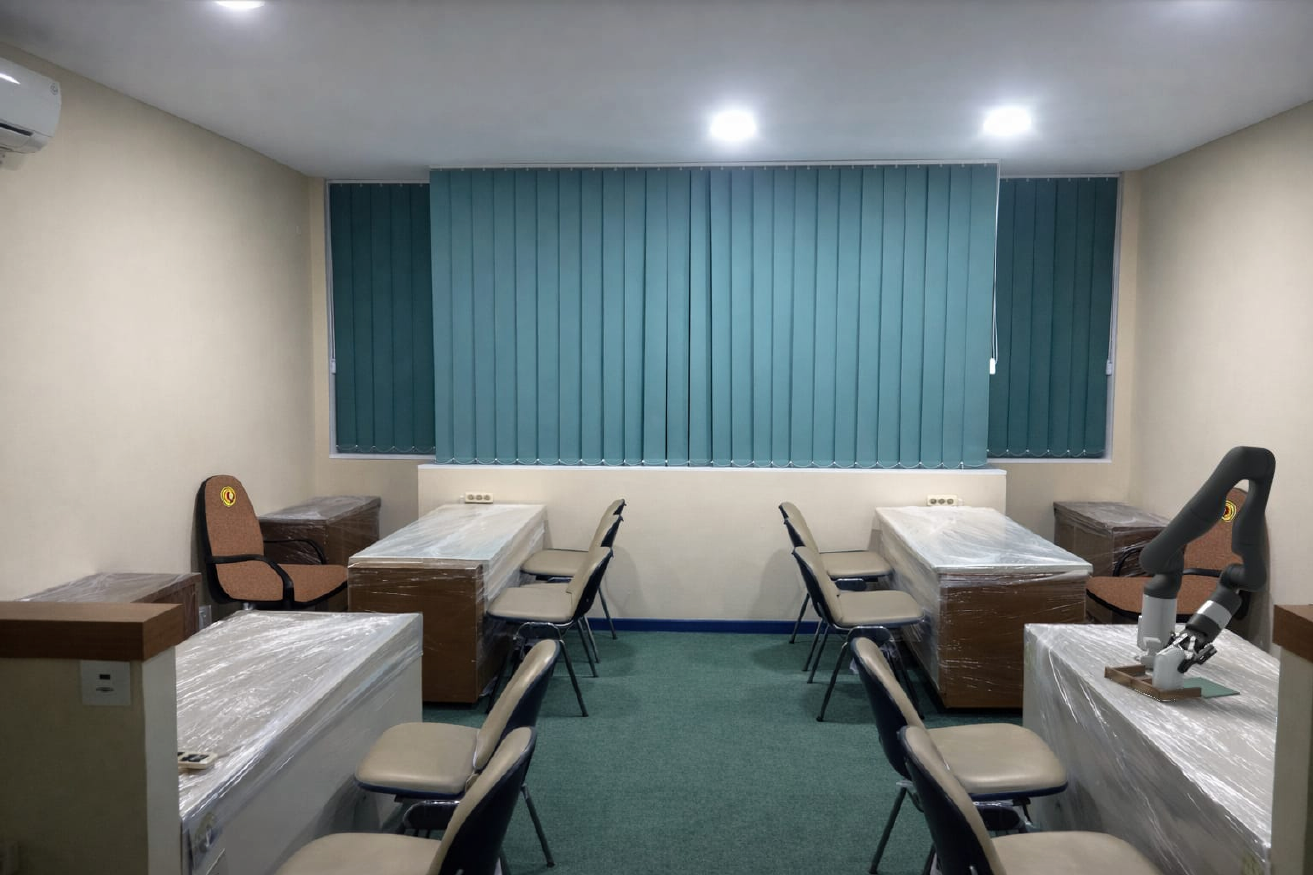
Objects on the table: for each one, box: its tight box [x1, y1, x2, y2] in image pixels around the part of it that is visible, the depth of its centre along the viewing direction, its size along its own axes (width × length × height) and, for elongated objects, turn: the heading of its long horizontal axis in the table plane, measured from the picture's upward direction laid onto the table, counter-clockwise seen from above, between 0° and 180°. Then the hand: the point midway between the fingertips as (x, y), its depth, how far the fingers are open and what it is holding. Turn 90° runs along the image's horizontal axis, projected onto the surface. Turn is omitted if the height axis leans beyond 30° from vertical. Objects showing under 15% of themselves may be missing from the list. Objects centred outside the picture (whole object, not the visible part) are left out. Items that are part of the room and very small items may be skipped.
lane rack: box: [1104, 663, 1202, 701], centre depth 244 cm, size 19×14×3 cm
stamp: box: [1133, 637, 1161, 670], centre depth 260 cm, size 9×7×8 cm
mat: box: [1182, 676, 1241, 699], centre depth 244 cm, size 12×12×1 cm
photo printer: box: [1152, 647, 1187, 691], centre depth 239 cm, size 10×4×12 cm, turn 123°
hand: (1171, 667), depth 240 cm, fingers closed on photo printer, 5 cm apart
